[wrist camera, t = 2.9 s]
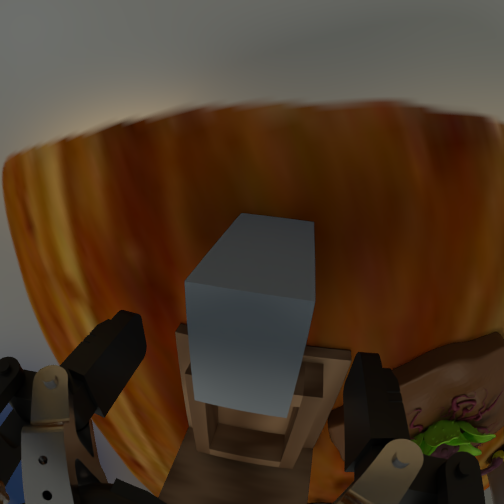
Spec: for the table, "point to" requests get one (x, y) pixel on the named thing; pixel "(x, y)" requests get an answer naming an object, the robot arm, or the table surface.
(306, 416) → the chair
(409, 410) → the plant
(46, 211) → the table surface
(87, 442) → the robot arm
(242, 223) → the block
